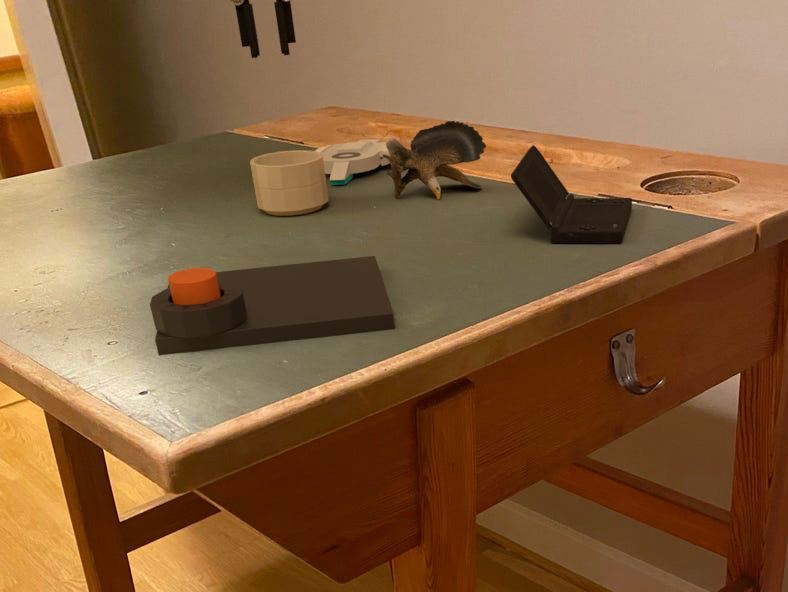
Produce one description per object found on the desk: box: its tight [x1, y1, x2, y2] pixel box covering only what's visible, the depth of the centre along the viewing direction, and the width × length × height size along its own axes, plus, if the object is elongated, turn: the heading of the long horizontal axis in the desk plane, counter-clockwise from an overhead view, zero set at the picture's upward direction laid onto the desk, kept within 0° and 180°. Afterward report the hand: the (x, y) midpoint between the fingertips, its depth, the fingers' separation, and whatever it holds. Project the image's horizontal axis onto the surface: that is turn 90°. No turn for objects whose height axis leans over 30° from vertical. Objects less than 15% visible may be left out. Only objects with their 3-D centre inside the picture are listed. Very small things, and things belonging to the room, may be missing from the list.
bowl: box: [249, 149, 329, 217], centre depth 97 cm, size 7×7×4 cm
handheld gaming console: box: [510, 144, 633, 244], centre depth 87 cm, size 12×7×10 cm
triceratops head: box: [383, 120, 487, 200], centre depth 99 cm, size 8×7×9 cm
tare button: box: [167, 267, 221, 305], centre depth 68 cm, size 3×3×2 cm
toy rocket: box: [315, 138, 391, 186], centre depth 111 cm, size 16×10×2 cm, turn 172°
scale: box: [149, 255, 396, 356], centre depth 74 cm, size 16×15×3 cm
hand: (270, 52), depth 91 cm, fingers closed
